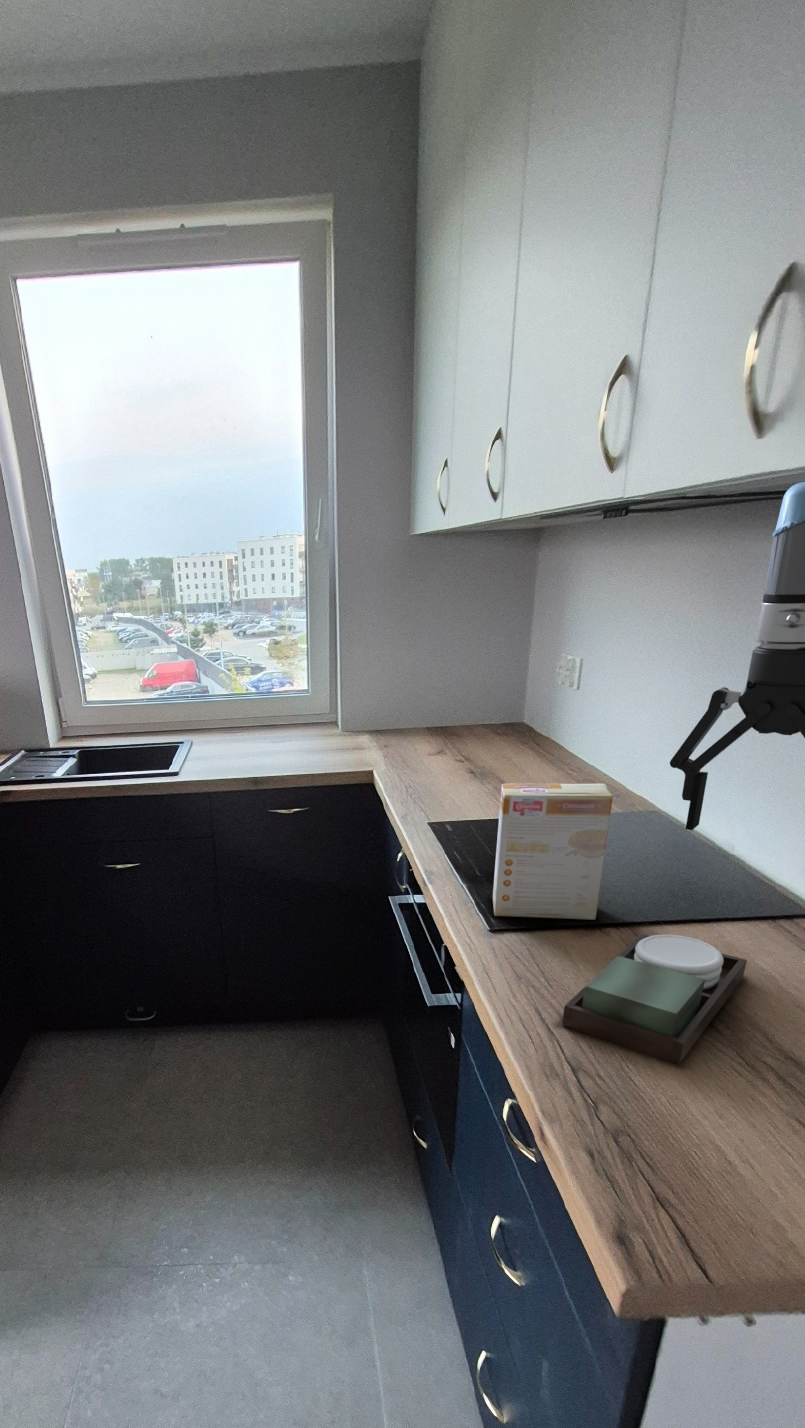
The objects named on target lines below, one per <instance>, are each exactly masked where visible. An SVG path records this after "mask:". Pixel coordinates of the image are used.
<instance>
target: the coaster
mask: <svg viewBox="0 0 805 1428" xmlns="http://www.w3.org/2000/svg"><path fill="white" fill-rule="evenodd" d="M649 936H650V937H646V938H644V939H642V940H640V941H639V942H638V943H637V945H636V948H635V950H636V952H635V954H634V960H635V961H639V962H643V963H647V964H650V965H654V966H658V967H662V968H665V969H669V970H673V971H676V972H680V973H684V974H688V975H691V976H695V977H699V978H702V979H705V982H704V987H703V990H706V989H709V988H712V987H714V986H715V985H716V984H717V983H718V982H719V980H720V973H721V971H722V965H723V963H724V960H723V956H722V954H723V953H722V952H721V951H719V949H717V947H715V946H713V945H712V944H709V943H707V942H706V941H703V940H701V939H697V938H693V937H691V936H690V937H689V936H684V935H677V934H656V935H649ZM721 953H722V954H721Z"/></svg>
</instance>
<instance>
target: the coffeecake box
mask: <svg viewBox="0 0 805 1428" xmlns="http://www.w3.org/2000/svg"><path fill="white" fill-rule="evenodd" d="M613 799H614V796H613V794H612V793H611V791H610V790H609V789H608V786H607V785H606V783H502V784H501V790H500V801H499V811H498V827H497V840H496V848H495V849H496V850H495V863H494V876H493V888H492V904H493V914H494V917H517V918H538V919H539V918H540V919H543V918H544V919H563V920H590V921H596V918H597V912H598V906H599V900H600V892H601V884H602V877H603V869H604V862H605V855H606V849H607V841H608V833H609V825H610V819H611V812H612V806H613Z"/></svg>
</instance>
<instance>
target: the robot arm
mask: <svg viewBox="0 0 805 1428" xmlns="http://www.w3.org/2000/svg"><path fill="white" fill-rule="evenodd" d="M769 556H770V557H769V563H768V569H767V574H766V580H765V587H764V592H763V596H762V601H761V605H760V610H759V615H758V616H759V617H758V621H757V625H756V626H757V627H756V631H755V637H754V639H755V640H756V642H757V643H759V646H756V647H755V648H754V649H753V650H752V652H751V658H750V663H749V668H748V673H747V679H746V685H745V687H744V689H743V690H742V691H736V690H730V689H729V688H728V687H726V686H725V687H724V686H723V687H720V688H719V689H717V690H715V691H713V692H712V694H711V697H710V700H709V703H708V707H707V710H706V712H705V713H704V714H703V715H702V717H701V718H700V720H699V721H698V722H697V723H696V725H695V726H694V728H693V729H692V730H691V732H690V733H689V734H688V736H687V738H685V740H684V741H683V743H682V744H681V746H680V747H679V748H678V750H677V751H676V752H675V754H674V755H673V757H672V758H671V759H670V761H669V765H670V767H671V768H673V769H678V770H679V771H682V772H683V773H684V779H683V780H684V781H683V786H682V792H681V797H682V800H683V801H689V806H688V812H687V817H686V824H685V830H689V831H693V830H694V829H696V828H697V827H699V826H700V820H701V815H702V810H703V803H704V798H705V792H706V786H707V780H708V774H709V772H708V771H701V770H702V769H703V768H704V767H705V766H707V765H708V764H709V763H710V762H712V761H713V760H714V759H715V758H716V757H718V756H719V755H720V754H721V753H722V752H724V751H725V750H726V749H727V748H729V747H730V746H732V744H733V743H735V742H736V741H737V740H738V739H740V738H741V737H742V736H743V735H744V734H746V733H747V732H748V731H749V730H750V729H753V730H754V731H756V732H758V734H762V735H763V734H764V735H767V734H773V733H775V734H779V735H782V736H793V735H795V734H798V733H800V734H801V735H802V737H803V738H804V739H805V481H802V482H798V483H796V484H795V483H794V484H793V485H791V486H790V487H789V488H788V489H787V490H786V492H785V493H784V495H783V497H782V501H781V506H780V510H779V514H778V518H777V522H776V525H775V530H774V531H773V533H772V545H771V550H770V555H769ZM735 703H737V704H738V706H739V708H740V709H741V711H742V713H743V715H744V716H745V717H744V718H743V719H741V720H740V721H739V722H738V723H737V724H735V725H734V726H733V727H732V728H731V729H730V730H729V731H728V732H726V733H725V734H723V736H721V737H720V738H719V739H718V740H717V741H715V742H714V743H713V744H712V745H711V746H710V747H708V748H707V749H706V750H705V751H703V752H702V753H701V754H700V755H699V756H697V757H696V758H695V759H692V758H690V757H691V756H692V754H693V753H694V752H695V751H696V749H697V748H698V747H699V745H700V744H701V742H703V740H704V739H705V737H706V736H707V734H708V733H709V732H710V730H711V729H712V727H713V726H714V725H715V724H716V722H717V721H718V720H719V718H720V717H721V715H722V714H723V713H724V711H727V710H729V709H731V708H732V706H733V705H734V704H735Z"/></svg>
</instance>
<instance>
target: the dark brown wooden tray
mask: <svg viewBox="0 0 805 1428" xmlns="http://www.w3.org/2000/svg"><path fill="white" fill-rule="evenodd" d="M650 936H651V935H650V934H649V935H648V934H645V933H640V934H639V935H638V936H637V937H636V938H635V939H634V940H633V941H631V943H630V944H629V945H627V947H625V948H624V949H623V951H621V952H620V953H619V954H618V955H617V956H616V957H615V958H613V960H612V961H610V962H609V963H608V964H607V965H606V966H605V967H603V969H602V970H601V971H600V972H599V973H598V974H596V976H595V977H593V978H592V979H591V980H590V981H589V982H588V983H587V984H586V985H585V986H584V987H583V988H582V989H581V990H580V991H579V992H577V994H575V996H574V997H572V998H571V999H569V1001H568V1002H566V1004H565V1005H564V1008H563V1016H562V1022H561V1025H562V1026H563V1027H567V1028H570V1029H572V1030H576V1031H577V1032H581V1033H585V1034H587V1035H590V1036H593V1037H596V1038H599V1039H602V1040H604V1041H608V1042H610V1043H614V1044H617V1045H619V1046H622V1047H625V1048H628V1049H632V1050H634V1051H637V1052H640V1053H644V1054H647V1055H649V1056H653V1057H655V1058H659V1059H661V1060H664V1061H667V1062H670V1063H673V1064H676V1065H680V1063H681V1062H682V1061H683V1060H684V1059H685V1057H686V1056H687V1054H688V1052H690V1050H691V1049H692V1048H693V1046H694V1045H695V1043H696V1042H697V1041H698V1039H699V1038H700V1037H701V1035H703V1033H704V1031H705V1030H706V1028H707V1027H708V1026H709V1025H710V1023H711V1022H712V1021H713V1019H714V1018H715V1017H716V1015H717V1014H718V1013H719V1011H720V1009H721V1008H722V1007H723V1006H724V1004H725V1003H726V1001H727V1000H728V999H729V998H730V996H731V995H732V993H733V992H734V991H735V990H736V989H737V987H738V985H739V984H740V983H741V982H742V980H743V979H744V975H745V970H746V967H747V963H748V959H746V958H742V957H737V956H734V955H729V954H725V953H722V952H720V953H721V954H722V956H723V960H724V963H723V965H722V971H721V973H720V980H719V982H718V983H717V984H716V985H715V986H714V987H712V988H709V989H706V990H703V987H704V982H705V979H702V978H699V977H695V976H691V975H688V974H684V973H680V972H676V971H673V970H669V969H665V968H662V967H658V966H654V965H650V964H647V963H643V962H639V961H635V960H634V954H635V952H636V950H635V948H636V945H637V943H638V942H639V941H640V940H642V939H644V938H646V937H650Z"/></svg>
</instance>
